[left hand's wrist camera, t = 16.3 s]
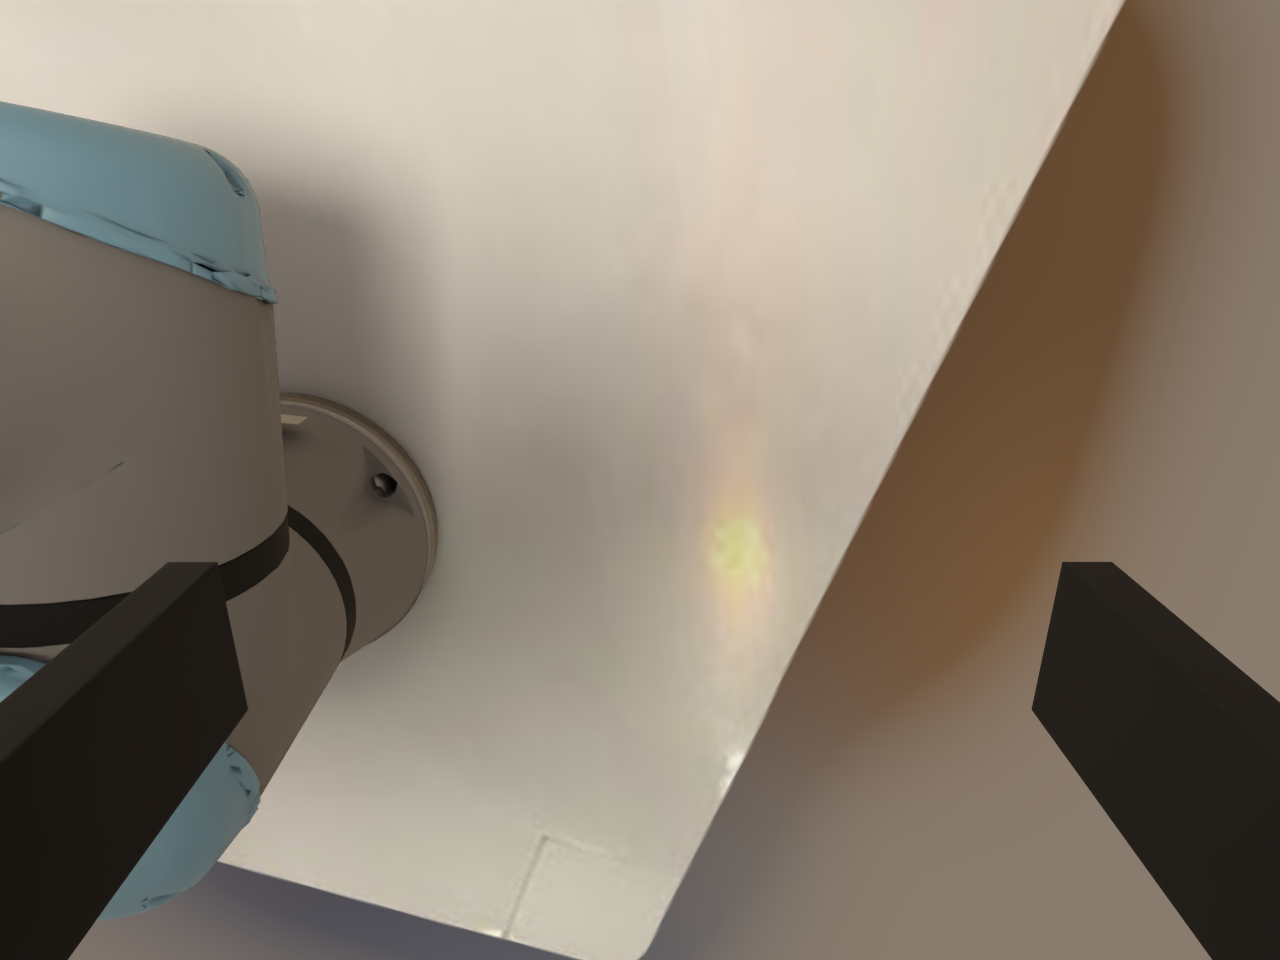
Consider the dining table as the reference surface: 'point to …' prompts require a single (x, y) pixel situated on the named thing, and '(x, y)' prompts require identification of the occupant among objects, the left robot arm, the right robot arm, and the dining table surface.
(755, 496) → the dining table surface
